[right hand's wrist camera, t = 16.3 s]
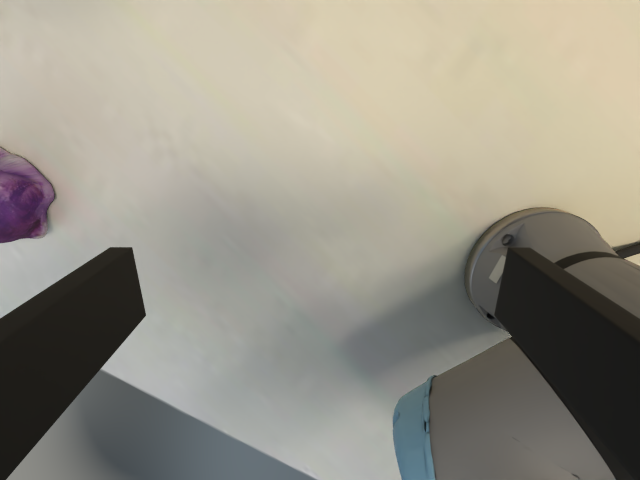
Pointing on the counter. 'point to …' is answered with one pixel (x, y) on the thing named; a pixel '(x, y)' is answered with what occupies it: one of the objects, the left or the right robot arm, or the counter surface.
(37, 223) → the figurine
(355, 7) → the counter surface
